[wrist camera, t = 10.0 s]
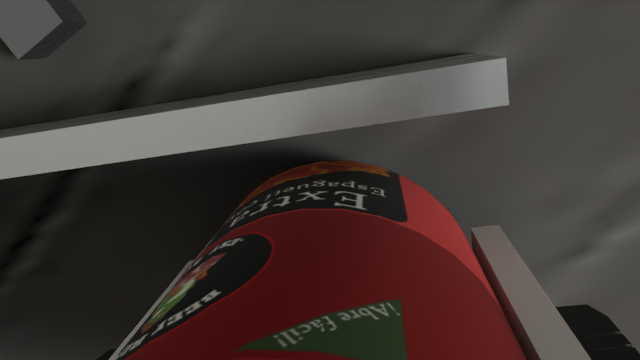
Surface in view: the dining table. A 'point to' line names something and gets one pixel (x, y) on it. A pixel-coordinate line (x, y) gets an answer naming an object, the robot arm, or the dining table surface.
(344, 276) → the canned food
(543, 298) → the robot arm
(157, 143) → the channel
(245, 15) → the dining table surface
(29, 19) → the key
